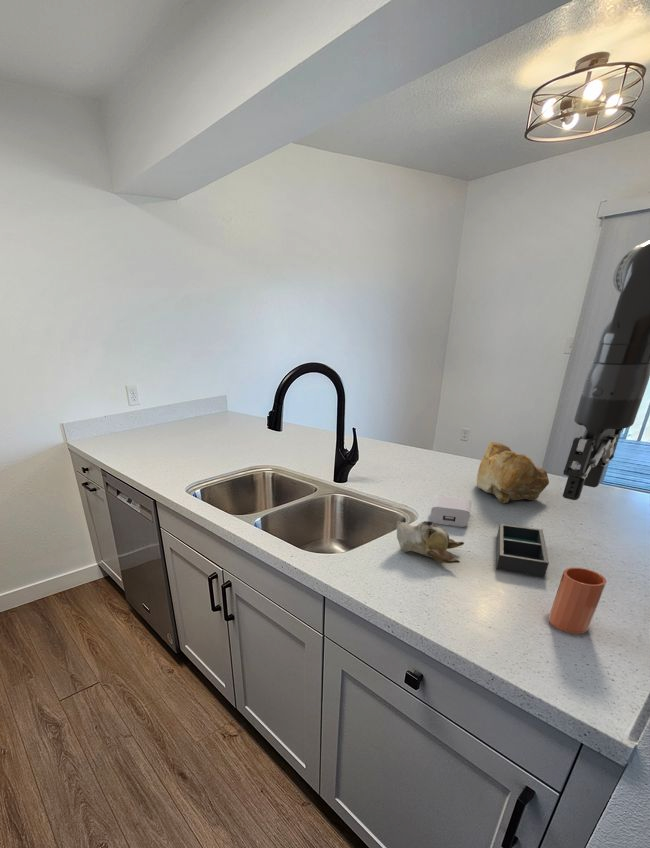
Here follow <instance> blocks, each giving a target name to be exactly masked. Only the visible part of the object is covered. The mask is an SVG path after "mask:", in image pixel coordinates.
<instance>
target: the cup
mask: <svg viewBox="0 0 650 848" xmlns="http://www.w3.org/2000/svg"><path fill="white" fill-rule="evenodd" d="M606 585H607V579H606V577H605V576H604V575H602V574H600V573H599V572H597V571H594V570H591V569H588V568H583V567H568V568H565V570H563V571H562V575H561V578H560V581H559V583H558V588H557V591H556V593H555V597H554V599H553V602H552V605H551V609H550V612H549V615H548V622H549V623H550V624H551V625H552V626H553V627H554V628H557V630H560V631H561V632H565V633H568V634H574V635H580V634H582V635H583V634H585V633H587V631H588V630H589V628H590V625H591V623H592V621H593V618H594V616H595V612H596V610H597V608H598V605H599V602H600V600H601V597H602V594H603V593H604V589H605V588H606Z"/></svg>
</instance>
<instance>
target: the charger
mask: <svg viewBox="0 0 650 848" xmlns="http://www.w3.org/2000/svg"><path fill="white" fill-rule="evenodd" d="M471 507H472V500H471V499H470V498H467V497H460V496H458V495H457V496H456V495H435V497H434V499H433V504H432V507H431V510H430V516H429V521H431V522H432V524H439V525H446V526H453V527H467V526H468V525H469V521H470V517H471V516H470V515H471Z"/></svg>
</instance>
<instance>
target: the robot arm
mask: <svg viewBox="0 0 650 848" xmlns="http://www.w3.org/2000/svg"><path fill="white" fill-rule="evenodd" d="M612 283H613V287H614V289H615V290H616V292H617V293H618V294H619V296H618V300H617V302H616V305H615V308H614V311H613V313H612V314H613V315H612V317H611V319H610V321H608V322H607V323H606V325H605V326H604V327H603V329H602V331H601V334H600V337H599V340H598V344H597V346H596V349H595V354H594V356H593V360H592V361H593V362H592V363H591V366H590V369H589V371H588V373H587V375H586V377H585V381H584V384H583V388H582V390H581V395H580V398H579V402H578V405H577V408H576V412H575V416H574V419H573V421H574V422H575V424H577V425H579V426H583V427H584V428H585V431H584V432H583V435H580V436H579V437H574V439H573V440H572V445H571V448H570V451H569V453H568V457H567V460H566V463H565V466H564V468H563V475H564V476H567V480H566V483H565V487H564V490H563V493H562V497H563V498H564V499H566V500H567V499H568V500H571V501H577V500H578V499H580V498H581V495H582V492H583V488H584V486H585V487H589V488H597V487H598V486H599V485H600V482H601V480H602V477H603V473H604V470H605V468H606V467H607V465H609V464H610V461H612V460H613V459H614V457H615V453H616V449H617V446H618V443H619V441H620V437H621V434H622V431H623V429H627V428H631V427H632V426H633V425H635V424H634V423H635V421H636V419H637V415H638V412H639V409H640V406H641V404H642V401H643V398H644V395H645V392H646V390H647V387H648V384H649V382H650V239H648V240H646V241H644V242H642V243H640V244H639V245H636V246H635V247H633V248H632V249H631V250H629V251H628V252H627V253H625V254H624V255H623V257H622V258H621V259H620V261H619V262H618V263H617V265H616V267H615V269H614V271H613V275H612ZM577 466H580V467H579V468H577Z"/></svg>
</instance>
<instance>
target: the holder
mask: <svg viewBox="0 0 650 848" xmlns="http://www.w3.org/2000/svg"><path fill="white" fill-rule="evenodd" d="M496 534H497V535H496V556H495V557H496V560H495V561H496V562H495V563H496V564H495V569H496V570H498V571H503V572H509V573H515V574H520V575H525V576H533V577H538V578H543V579H544V578H545V577H546V574H547V571H548V566H549V564H550V563H549V558H548V553H547V552H548V551H547V546H546V541H545V535H544V529H542V528H541V529H540V528H535V527H534V528H533V527H528V526H525V527H524V526H520V525H519V526H518V525H512V524H503V523H499V525H498V530H497V533H496Z"/></svg>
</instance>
